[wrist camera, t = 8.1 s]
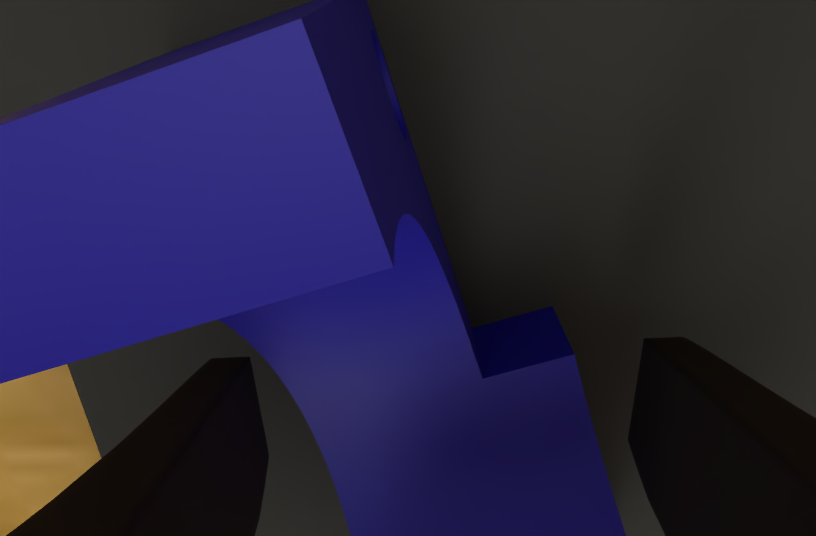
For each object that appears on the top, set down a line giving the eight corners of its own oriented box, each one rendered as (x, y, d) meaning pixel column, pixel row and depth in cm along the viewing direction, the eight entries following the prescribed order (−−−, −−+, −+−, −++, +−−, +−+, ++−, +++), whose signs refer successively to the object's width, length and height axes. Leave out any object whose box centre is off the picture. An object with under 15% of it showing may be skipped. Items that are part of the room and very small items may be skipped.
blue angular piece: (606, 526, 13) (746, 899, 8) (414, 571, 14) (426, 946, 9) (464, -54, 8) (593, -84, 3) (166, 52, 9) (-187, 191, 3)
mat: (786, 630, 16) (795, 645, 16) (183, 656, 16) (178, 673, 16) (1205, -446, 7) (1248, -470, 7) (-180, -379, 7) (-211, -398, 7)
